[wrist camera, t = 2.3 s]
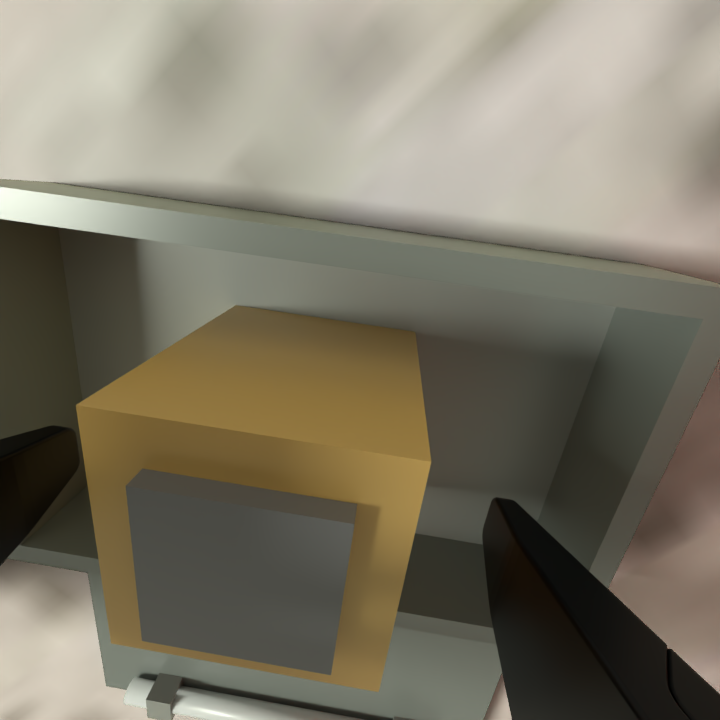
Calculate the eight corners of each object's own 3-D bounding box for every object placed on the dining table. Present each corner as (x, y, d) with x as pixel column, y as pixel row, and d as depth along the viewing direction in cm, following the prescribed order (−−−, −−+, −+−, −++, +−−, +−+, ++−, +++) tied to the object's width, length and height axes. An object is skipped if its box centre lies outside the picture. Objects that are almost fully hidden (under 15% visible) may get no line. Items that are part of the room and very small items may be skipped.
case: (92, 492, 15) (8, 572, 12) (48, 181, 11) (-97, 173, 8) (529, 565, 14) (567, 671, 11) (643, 264, 11) (751, 292, 7)
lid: (118, 666, 19) (90, 712, 17) (92, 491, 15) (53, 527, 13) (466, 731, 18) (473, 785, 16) (529, 564, 14) (547, 612, 13)
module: (233, 456, 13) (95, 666, 7) (236, 305, 11) (53, 418, 5) (387, 481, 13) (377, 718, 7) (415, 331, 11) (432, 480, 5)
